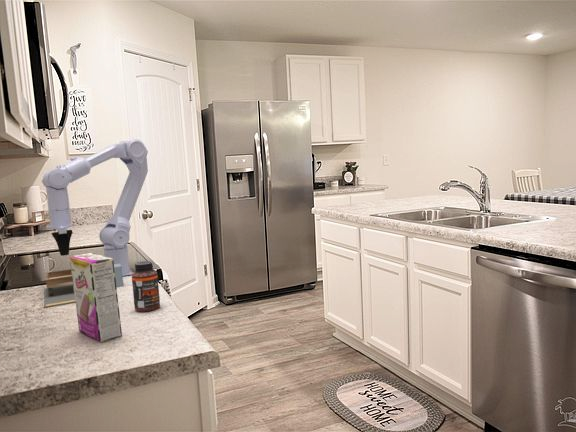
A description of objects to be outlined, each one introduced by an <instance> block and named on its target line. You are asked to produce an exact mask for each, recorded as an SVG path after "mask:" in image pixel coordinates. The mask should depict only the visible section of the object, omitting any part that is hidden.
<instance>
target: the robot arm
mask: <svg viewBox="0 0 576 432" xmlns="http://www.w3.org/2000/svg"><path fill="white" fill-rule="evenodd" d="M148 153H149V150H148V149H147V146H145V143H144V142H143V141H141V140H140V139H134V138H133V139H131V140H122V141H120V142H118V143H114V144H110V145H108V146H106V147H104V148H103V149H101V150H99V151H97V152H95V153H93V154H92V155H90V156H87V157H86V158H84V157H81V156H78V157H76V156H73V157H71V158H70V161H68V162H66V163H64V164H57V165H56V168H54V169H50V170H47V171H46V172H44V174H43V175H42V176H43V177H42V179H41V182H42V184H43V186H44V187H45V190H46V201H47V207H48V216H49V217H48V218H49V224H50V225H47V226H45V229H47V230H49V229H50V230H57V231H54V232H51V236H52V237H53V239H54V240H55V243H56V245H57V247H58V248H57V249H58V251H59V254H60V256H68V255H69V254H70V245H71V244H70V243H71V239H72V235H73V233H74V232H73V229H68V228H72V227H73V223H72V216H71V215H72V214H71V208H70V207H71V206H70V200H69V193H68V186H69V184H71V183H74V182H75V181H77V180H79V179H81V178H83V177H85V176H87V175H90V173H91V169H92V168H94V167H96V166H98V165H100V164H102V163H105V162H107V161H109V160H111V159H119V160H120V161H121V162H123V163H124V165H125V166H126V167H127V169H128V173H129V174H128V176H127V177H126V181H125V183H124V185H123V188H122V191H121V194H120V197H119V199H118V201H117V204H116V206H115V209H114V211H113V214H112V216H111V218H109V219H108V220H107V221H106V224H105V226H104V227H103V228H101V230H100V232H99V235H98V237H99V240H100V242H101V243H102V244H103V256H105V257H109V258H113V262H114V264H120V265H121V266H122V275H123V277H125V276H129V275H131V276H132V274H133V273H134V272H133V271H132V270H131V268H130V259H129V251H128V250H129V249H128V243H129V241H130V232H131V231H130V230H131V228H132V227H131V224H130V220H131V217H132V214H133V213H134V209H135V207H136V203H137V201H138V198H139V197H140V193H141V191H142V188H143V186H144V184H145V180H146V178H147V175H148V171H149V168H148V166H149V165H148V157H147V156H148Z"/></svg>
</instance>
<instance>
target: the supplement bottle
mask: <svg viewBox="0 0 576 432" xmlns="http://www.w3.org/2000/svg"><path fill="white" fill-rule="evenodd" d="M134 269H135V270H134V271H133V272H132V273H133V274H132V275H131V283H132V284H131V285H132V295H133V305H134V309H135V311H137V312H143V313H144V312H151V311H155V310H157V309H159V307H160V306H161V303H160V300H161V299H160V286H159V277H158V272H157V270H155V269H154V268H153V261H151V260H143V261H142V260H141V261H137V262H136V263H135V262H134Z"/></svg>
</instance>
